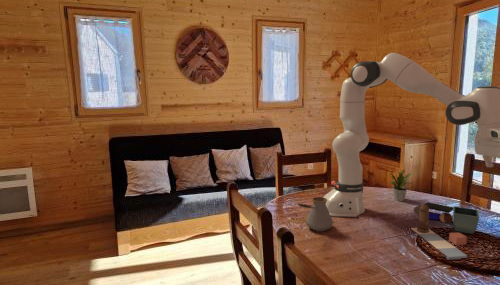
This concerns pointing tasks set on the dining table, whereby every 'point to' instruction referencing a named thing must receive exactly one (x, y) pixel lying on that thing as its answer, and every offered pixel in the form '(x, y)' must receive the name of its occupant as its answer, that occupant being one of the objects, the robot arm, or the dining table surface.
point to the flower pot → (465, 219)
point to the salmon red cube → (457, 238)
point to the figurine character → (437, 216)
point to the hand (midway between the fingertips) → (498, 168)
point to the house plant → (399, 186)
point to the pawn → (423, 219)
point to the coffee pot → (318, 215)
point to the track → (442, 245)
